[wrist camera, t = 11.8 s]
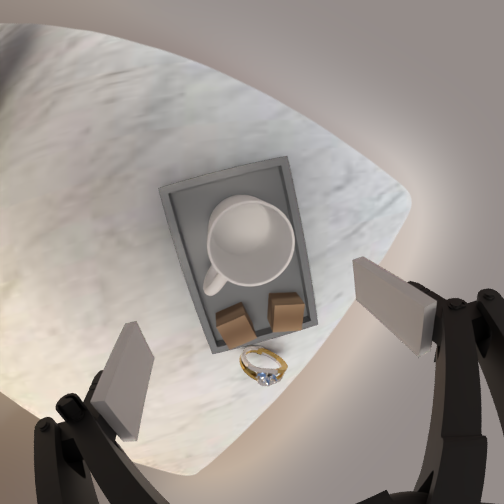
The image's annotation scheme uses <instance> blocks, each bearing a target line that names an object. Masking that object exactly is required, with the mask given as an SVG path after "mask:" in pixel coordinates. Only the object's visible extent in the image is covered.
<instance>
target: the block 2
mask: <svg viewBox="0 0 504 504" xmlns="http://www.w3.org/2000/svg"><path fill="white" fill-rule="evenodd" d="M304 307H305V304H304V302H303V301H302V299H301V298H300V297H299V295H298V294H297V293H296V292H286V293H269V297H268V313H267V319H268V321H269V324H270V326H271V329H272V331H273V332H286V331H298V330H302V323H303V315H304Z"/></svg>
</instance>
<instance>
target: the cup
mask: <svg viewBox="0 0 504 504" xmlns="http://www.w3.org/2000/svg"><path fill="white" fill-rule="evenodd" d="M294 247H295V236H294V231H293V228H292V225H291V223H290V221H289V220H288V218H287V217H286V216H285V214H284V213H283V212H282V211H280V210H279V209H278V208H277V207H275V206H273V205H271V204H269V203H267V202H265V201H263V200H260V199H258V198H256V197H253V196H250V195H234V196H231V197H228V198H226V199H224V200H223V201H221V202H220V203H219V204H218V205H217V206H216V207H215V209H214V210H213V212H212V214H211V216H210V219H209V224H208V237H207V251H208V256H209V259H210V261H211V264H212V265H211V266H210V268H209V270H208V272H207V274H206V276H205V279H204V284H203V290H204V292H205V294H206V295H208V296H213V295H215V294H216V293H218V292H219V291H220V290H221V288H222V287H223V286H224V285H225V283H226V282H227V281H229V282H231V283H234V284H236V285H240V286H259V285H263V284H266V283H268V282H270V281H272V280H274V279H275V278H277V277H278V276H279V275H280V274H281V273H282V272H283V271H284V270H285V269H286V267H287V266H288V264H289V263H290V261H291V259H292V256H293V253H294ZM216 274H217V275H216Z"/></svg>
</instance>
